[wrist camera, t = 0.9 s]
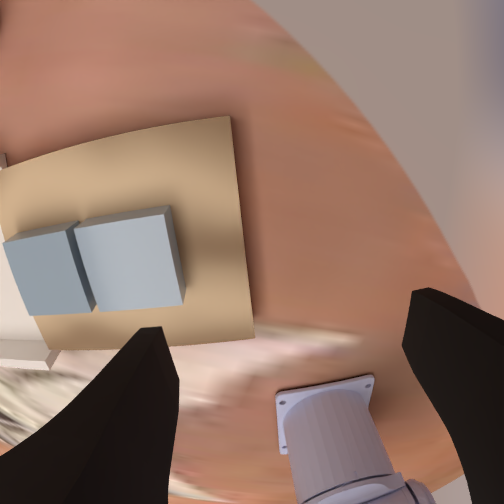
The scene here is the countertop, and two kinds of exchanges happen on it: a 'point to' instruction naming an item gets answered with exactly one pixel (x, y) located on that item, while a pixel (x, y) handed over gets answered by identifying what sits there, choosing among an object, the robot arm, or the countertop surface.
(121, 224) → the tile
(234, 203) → the board
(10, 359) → the tray
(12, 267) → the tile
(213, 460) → the countertop surface
